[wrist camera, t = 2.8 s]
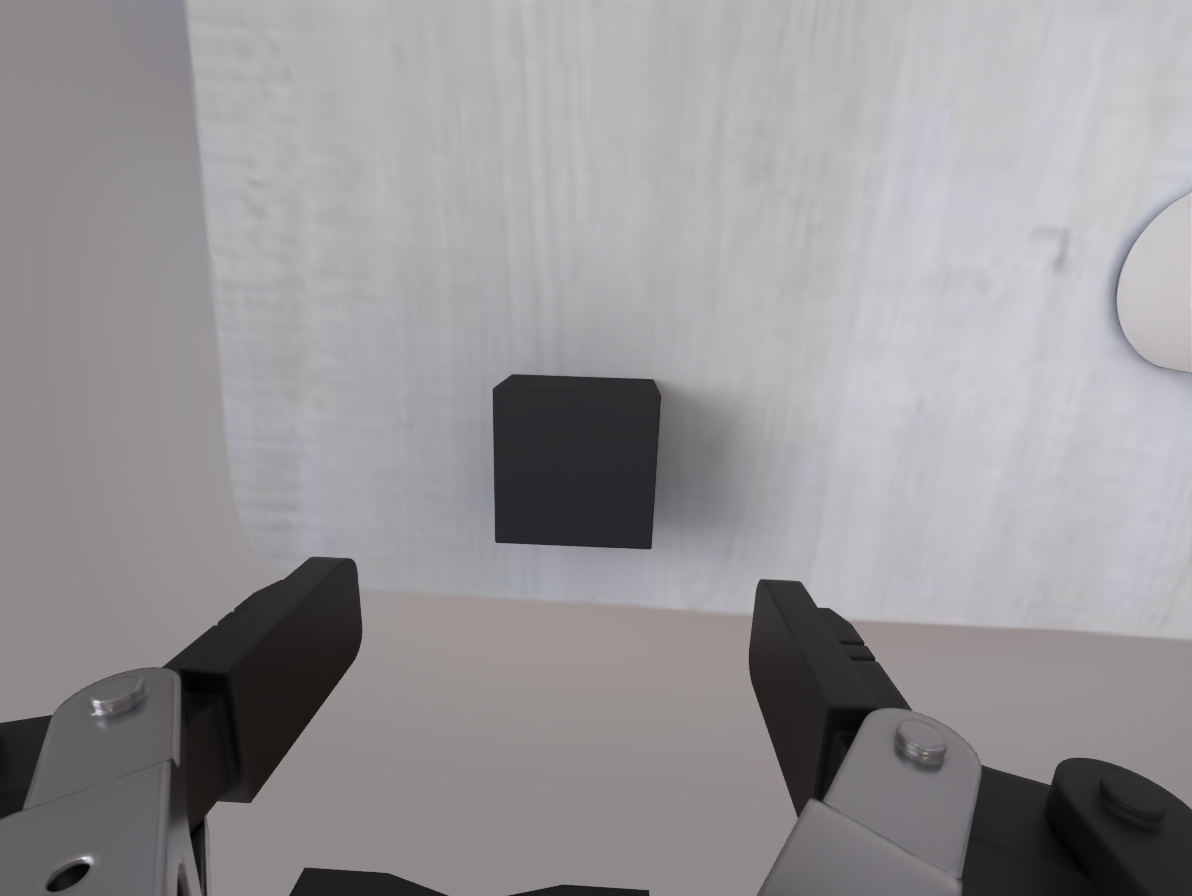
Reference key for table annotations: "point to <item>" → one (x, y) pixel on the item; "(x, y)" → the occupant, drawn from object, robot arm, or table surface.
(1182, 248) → the can
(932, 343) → the table surface
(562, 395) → the plug pad
